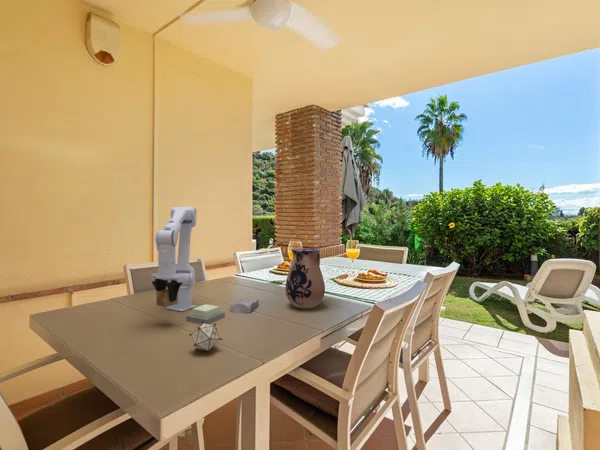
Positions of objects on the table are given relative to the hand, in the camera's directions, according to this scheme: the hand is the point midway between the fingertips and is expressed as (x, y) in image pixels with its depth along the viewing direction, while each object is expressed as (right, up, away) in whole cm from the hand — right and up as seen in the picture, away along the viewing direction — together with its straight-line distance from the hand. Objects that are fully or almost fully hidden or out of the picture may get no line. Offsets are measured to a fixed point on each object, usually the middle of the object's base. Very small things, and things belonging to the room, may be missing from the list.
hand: (167, 300), depth 109 cm
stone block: (+24, -9, +20) cm, 33 cm away
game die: (+21, -10, -21) cm, 31 cm away
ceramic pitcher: (+51, -9, +25) cm, 58 cm away
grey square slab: (+12, -10, +6) cm, 17 cm away
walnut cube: (0, -2, 0) cm, 2 cm away
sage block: (+12, -7, +6) cm, 15 cm away
